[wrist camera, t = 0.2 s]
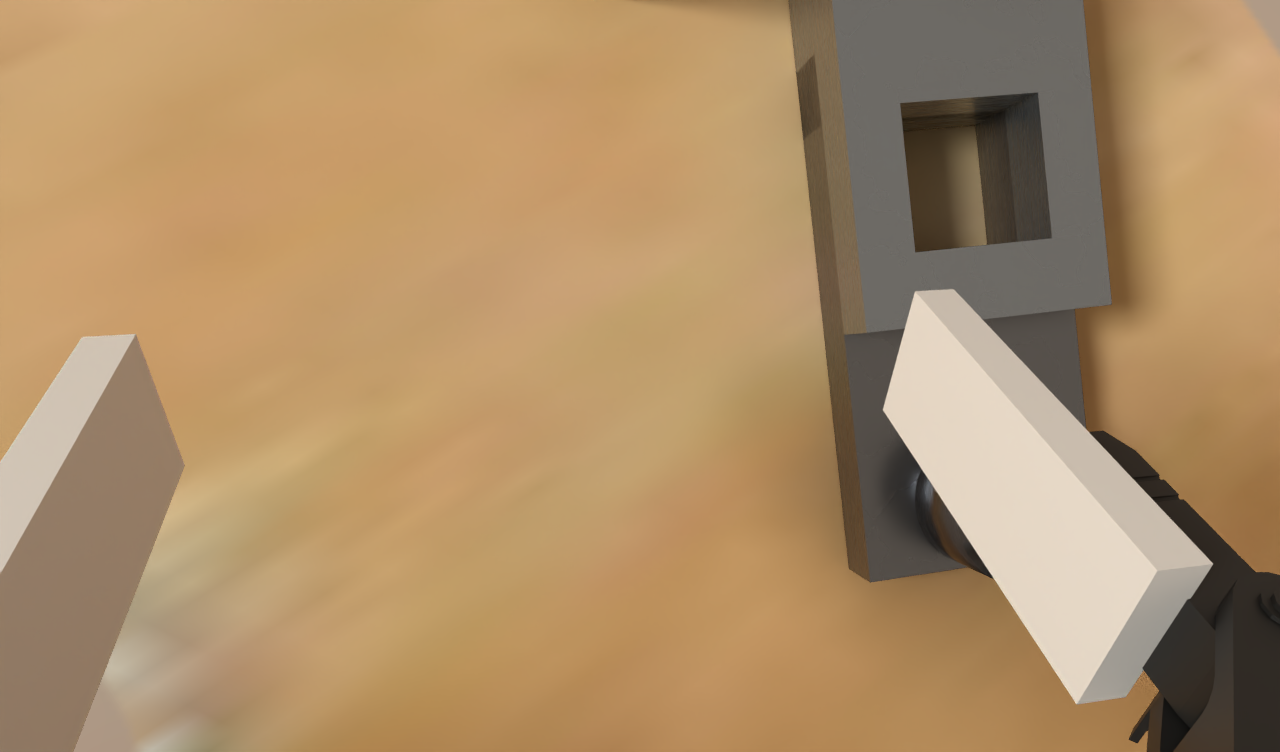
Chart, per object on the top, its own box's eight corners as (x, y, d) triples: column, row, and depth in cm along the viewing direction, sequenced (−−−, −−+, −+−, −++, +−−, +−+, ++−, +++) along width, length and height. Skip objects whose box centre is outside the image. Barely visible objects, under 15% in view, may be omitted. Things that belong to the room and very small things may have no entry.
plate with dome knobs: (1063, 535, 33) (1180, 573, 27) (849, 568, 32) (922, 615, 26) (994, -176, 32) (1099, -297, 26) (770, -169, 31) (827, -294, 25)
